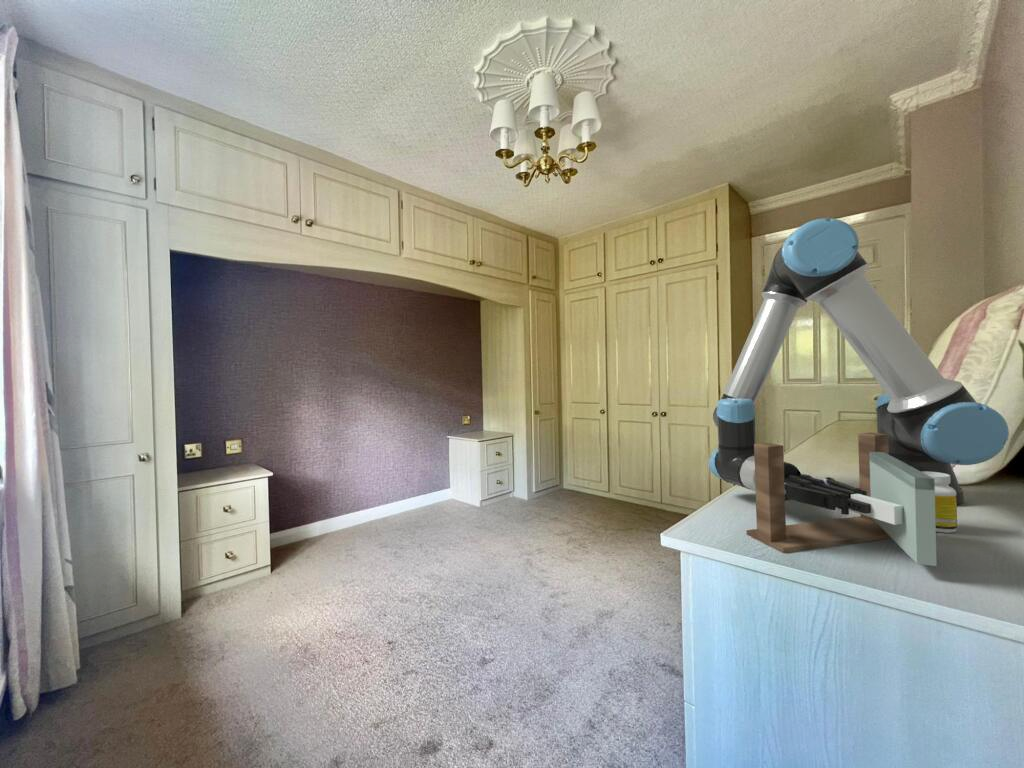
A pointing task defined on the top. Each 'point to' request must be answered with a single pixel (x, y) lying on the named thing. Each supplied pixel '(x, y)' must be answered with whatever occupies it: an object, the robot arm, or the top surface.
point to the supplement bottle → (944, 503)
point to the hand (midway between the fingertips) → (898, 515)
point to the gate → (906, 505)
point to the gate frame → (812, 533)
